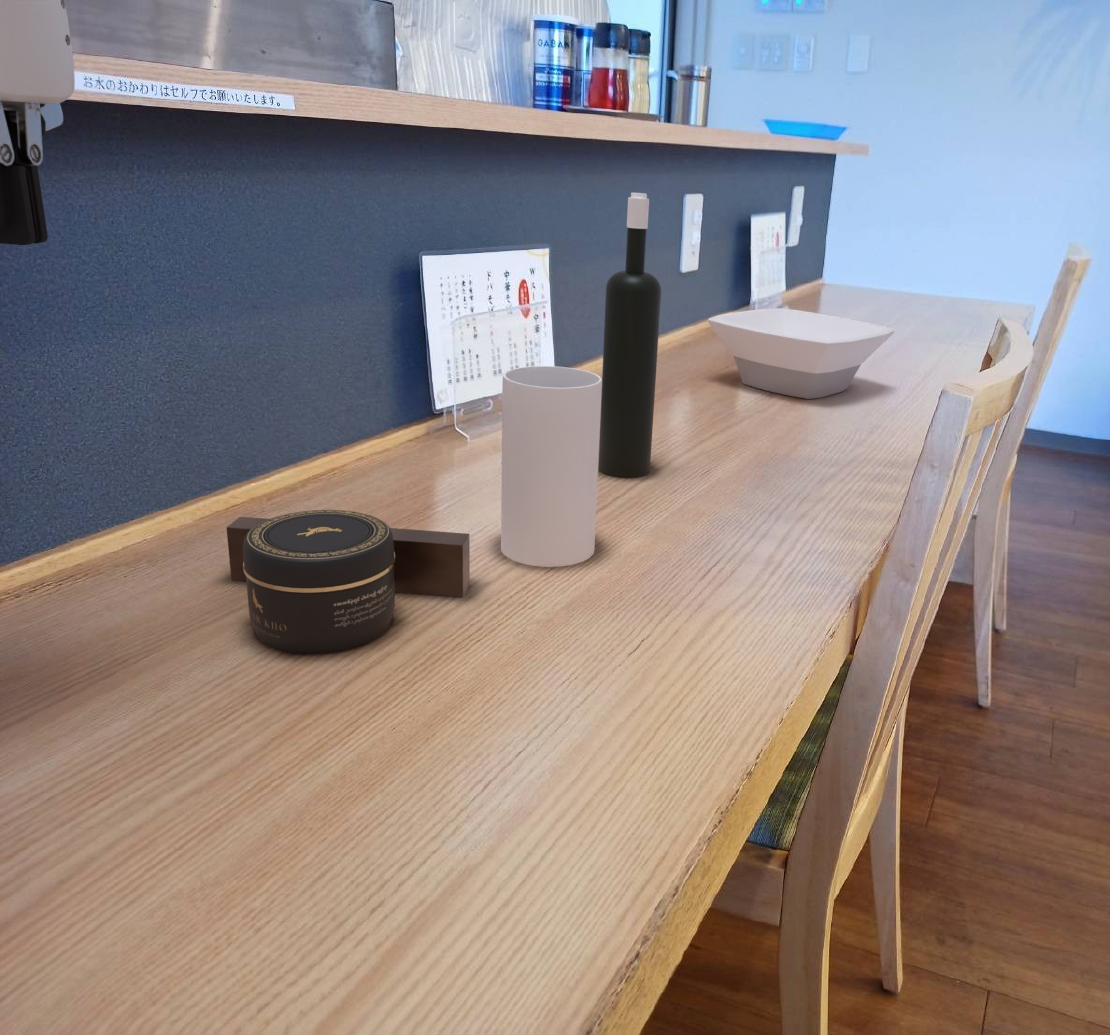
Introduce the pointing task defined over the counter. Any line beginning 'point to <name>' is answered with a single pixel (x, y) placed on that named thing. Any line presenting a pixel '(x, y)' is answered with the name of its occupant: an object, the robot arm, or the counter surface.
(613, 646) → the counter surface
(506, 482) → the cup
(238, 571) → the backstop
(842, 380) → the bowl
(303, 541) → the jar
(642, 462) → the wine bottle
